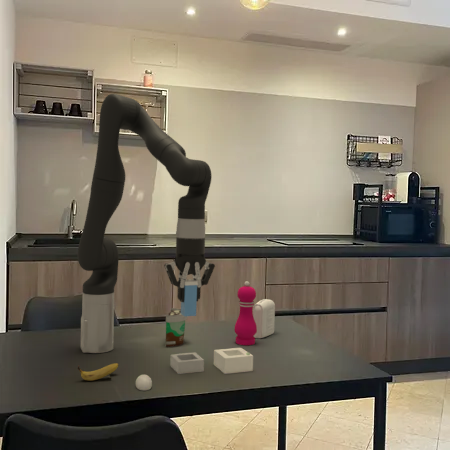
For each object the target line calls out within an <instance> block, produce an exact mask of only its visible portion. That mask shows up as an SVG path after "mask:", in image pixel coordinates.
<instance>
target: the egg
mask: <svg viewBox="0 0 450 450" xmlns="http://www.w3.org/2000/svg"><path fill="white" fill-rule="evenodd" d="M152 386H153V381H152V378H151V377H150V376H149V375H147V374H140V375H139V376H138V377H137V378H136V380H135V388H136V389H137V390H139V391H144V392H145V391H149V390H150V389H151V388H152Z"/></svg>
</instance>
